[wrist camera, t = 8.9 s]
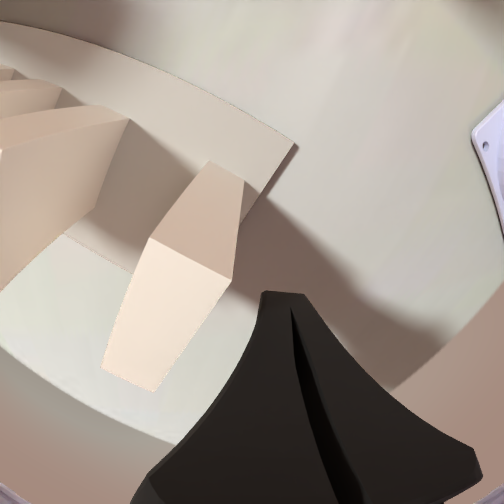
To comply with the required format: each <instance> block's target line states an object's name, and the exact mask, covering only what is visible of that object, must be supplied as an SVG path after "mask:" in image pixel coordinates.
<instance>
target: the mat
mask: <svg viewBox="0 0 504 504" xmlns="http://www.w3.org/2000/svg"><path fill="white" fill-rule="evenodd" d="M0 64H3V65H6V66H9V67H11V68H14V69H15V70H14V73H13V76H12V79H11V80H25V79H42V80H45V81H47V82H50V83H52V84H55V85H57V86H59V87H62V90H61V93H60V95H59V98H58V100H57V103H56V106H55V108H54V109H60V108H68V107H77V106H88V105H103V106H105V107H107V108H109V109H111V110H113V111H115V112H117V113H120V114H122V115H124V116H126V117H128V118H130V119H129V121H128V124H127V126H126V128H125V130H124V132H123V135H122V137H121V139H120V141H119V144H118V146H117V148H116V151H115V153H114V156H113V158H112V161H111V163H110V166H109V168H108V171H107V174H106V176H105V179H104V182H103V184H102V187H101V190H100V193H99V196H98V199H97V202H96V205H95V208H93V209H92V210H91V211H90V212H88V213H87V214H86V215H84V216H83V217H82V218H81V219H79V220H78V221H77V222H76V223H74V224H73V225H72V226H71V227H70V228H68V229H67V230H66V231H65V232H64V233H63V234H64V235H66V236H68V237H69V238H71V239H72V240H74V241H76V242H77V243H79V244H81V245H82V246H84V247H86V248H87V249H89V250H91V251H92V252H94V253H96V254H98V255H99V256H101V257H103V258H105V259H106V260H108V261H110V262H112V263H113V264H115V265H117V266H119V267H120V268H122V269H124V270H126V271H128V272H129V273H131V274H134V272H135V269H136V267H137V264H138V262H139V260H140V257H141V255H142V253H143V250H144V248H145V246H146V243H147V241H148V239H149V237H150V235H151V234H152V233H153V231H154V230H155V229H156V227H157V226H158V225H159V223H160V222H161V220H162V219H163V218H164V216H165V215H166V214H167V212H168V211H169V210H170V209H171V207H172V206H173V205H174V203H175V202H176V201H177V199H178V198H179V197H180V196H181V194H182V193H183V192H184V190H185V189H186V188H187V187H188V185H189V184H190V183H191V182H192V180H193V179H194V178H195V177H196V176H197V174H198V173H199V172H200V171H201V169H202V168H203V167H204V166H205V165H206V163H207V162H208V161H209V160H210V161H212V162H213V163H215V164H217V165H219V166H221V167H222V168H224V169H226V170H228V171H229V172H231V173H233V174H235V175H236V176H238V177H240V178H242V179H243V180H244V188H243V196H242V203H241V211H240V219H239V226H240V224H241V222H242V221H243V219H244V218H245V216H246V215H247V213H248V212H249V210H250V209H251V207H252V206H253V204H254V203H255V201H256V200H257V198H258V196H259V195H260V193H261V192H262V190H263V189H264V187H265V186H266V184H267V183H268V181H269V180H270V178H271V177H272V175H273V174H274V172H275V171H276V169H277V168H278V166H279V165H280V163H281V162H282V160H283V159H284V157H285V156H286V154H287V153H288V152H289V150H290V149H291V147H292V146H293V144H294V142H293V141H291V140H290V139H288V138H287V137H285V136H284V135H282V134H280V133H279V132H277V131H276V130H274V129H272V128H271V127H269V126H267V125H266V124H264V123H262V122H261V121H259V120H257V119H256V118H254V117H252V116H250V115H249V114H247V113H245V112H243V111H242V110H240V109H238V108H236V107H235V106H233V105H231V104H229V103H227V102H225V101H224V100H222V99H220V98H218V97H216V96H214V95H212V94H210V93H208V92H206V91H204V90H202V89H200V88H198V87H196V86H194V85H192V84H190V83H188V82H186V81H184V80H182V79H180V78H178V77H175V76H173V75H171V74H169V73H167V72H164V71H162V70H160V69H158V68H155V67H153V66H151V65H148V64H146V63H143V62H141V61H138V60H136V59H133V58H131V57H128V56H126V55H123V54H121V53H118V52H115V51H112V50H110V49H107V48H104V47H101V46H98V45H95V44H92V43H89V42H86V41H83V40H79V39H76V38H73V37H69V36H66V35H62V34H58V33H55V32H51V31H47V30H43V29H38V28H34V27H29V26H24V25H19V24H14V23H8V22H2V21H0Z"/></svg>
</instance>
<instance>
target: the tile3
mask: <svg viewBox="0 0 504 504" xmlns="http://www.w3.org/2000/svg"><path fill="white" fill-rule="evenodd" d="M61 90H62V87H59V86H57V85H55V84H52V83H50V82H47V81H45V80H42V79H25V80H8V81H0V119H3V118H7V117H12V116H17V115H22V114H27V113H33V112H39V111H45V110H52V109H54V108H55V106H56V103H57V100H58V98H59V95H60V93H61Z"/></svg>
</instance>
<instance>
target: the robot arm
mask: <svg viewBox="0 0 504 504" xmlns="http://www.w3.org/2000/svg"><path fill="white" fill-rule="evenodd" d="M471 137H472V142H473V144H474V146H475V149H476V151H477V153H478V156H479V158H480V161H481V163H482V166H483V168H484V171H485V174H486V177H487V179H488V182H489V185H490V188H491V191H492V194H493V197H494V200H495V204H496V207H497V210H498V214H499V218H500V221H501V225H502V229H503V233H504V99H503V100H502V101H501V103H500V104H499V105H498V106H497V107H496V108H494V109H493V110H492V111H491V112H490V113H489V114H488V115H487V116H486V117H485V118H484V119H483V120H482V121H481V122H480V123H479V124H478V125H477V126H476V127H475V128H474V129H473V131H472V134H471ZM483 143H484V148H483V147H482V146H483ZM482 477H483V474H482V471H481V468H480V465H479V462H478V460H477V457H476V454H475V451H474V449H473V448H472V447H469V446H467V445H466V444H463V443H462V442H460V441H458V440H456V439H454V438H452V437H450V436H448V435H446V434H444V433H443V432H441V431H439V430H438V429H436V428H435V427H433V426H431V425H430V424H428V423H427V422H425V421H424V420H422V419H421V418H419V417H418V416H416V415H415V414H414V413H412V412H411V411H410V410H408V409H407V408H406V407H405V406H403V405H402V404H401V403H400V402H398V401H397V400H396V399H395V398H393V397H392V396H391V395H390V394H389V393H388V392H386V391H385V390H384V389H383V388H382V387H381V386H380V385H379V384H378V383H377V382H376V381H375V380H374V379H373V378H372V377H371V376H370V375H368V374H367V373H366V372H365V370H364V369H363V368H362V367H361V366H360V365H359V364H358V363H357V362H356V361H355V360H354V358H353V357H352V356H351V355H350V354H349V353H348V352H347V351H346V349H345V348H344V347H343V346H342V344H341V343H340V342H339V341H338V339H337V338H336V337H335V336H334V334H333V333H332V332H331V330H330V329H329V328H328V326H327V325H326V324H325V322H324V321H323V320H322V318H321V317H320V315H319V314H318V313H317V311H316V310H315V308H314V307H313V306H312V304H311V303H310V301H309V300H308V299H307V297H306V296H305V295H304V294H297V293H286V292H276V291H264V292H262V293H261V298H260V304H259V309H258V315H257V320H256V325H255V328H254V330H253V333H252V336H251V338H250V340H249V342H248V344H247V346H246V348H245V351H244V353H243V355H242V357H241V359H240V361H239V362H238V364H237V366H236V368H235V369H234V371H233V373H232V375H231V376H230V378H229V379H228V381H227V383H226V384H225V386H224V387H223V389H222V390H221V392H220V393H219V394H218V396H217V397H216V399H215V400H214V402H213V403H212V404H211V406H210V407H209V408H208V410H207V411H206V412H205V413H204V415H203V416H202V417H201V418H200V419H199V421H198V422H197V423H196V424H195V425H194V427H193V428H192V429H191V430H190V431H189V432H188V433H187V435H186V436H185V437H184V438H183V439H182V440H181V441H180V442H179V443H178V444H177V446H176V447H174V448H173V449H172V451H170V452H169V454H168V455H166V456H165V457H164V458H163V459H162V460H161V461H160V462H159V463H158V464H157V465H156V466H155V467H154V468H152V469H151V470H150V471H149V472H148V473H147V475H146V477H145V479H144V480H143V481H142V483H141V485H140V486H139V488H138V489H137V491H136V493H135V494H134V496H133V498H132V500H131V502H130V504H444V502H445V501H447V500H448V499H451V498H453V497H454V496H456V495H458V494H460V493H462V492H463V491H465V490H467V489H468V488H470V487H472V486H474V485H475V484H477V483H478V482H479V481H481V479H482ZM0 504H32V503H30V502H28V501H26V500H25V499H23V498H21V497H20V496H18V495H17V494H16V493H15V492H14V491H13V490H11V489H10V488H8V487H7V486H5V485H3V484H2V483H1V482H0ZM473 504H504V483H503V484H502V485H500V486H499V487H497V488H496V489H494V490H493V491H491V492H490V494H488V495H487V496H485V497H483V498H482V499H480V500H479V501H477V502H475V503H473Z"/></svg>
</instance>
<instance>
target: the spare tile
mask: <svg viewBox="0 0 504 504" xmlns="http://www.w3.org/2000/svg"><path fill="white" fill-rule="evenodd" d="M243 188H244V180H243V179H242V178H240V177H238V176H236V175H235V174H233V173H231V172H229V171H228V170H226V169H224V168H222V167H221V166H219V165H217V164H215V163H213V162H212V161H210V160H209V161H208V162H207V163H206V165H205V166H204V167H203V168H202V169H201V171H200V172H199V173H198V174H197V176H196V177H195V178H194V179H193V180H192V182H191V183H190V184H189V185H188V187H187V188H186V189H185V190H184V192H183V193H182V194H181V196H180V197H179V198H178V199H177V201H176V202H175V203H174V205H173V206H172V207H171V209H170V210H169V211H168V212H167V214H166V215H165V216H164V218H163V219H162V220H161V222H160V223H159V225H158V226H157V227H156V229H155V230H154V231H153V233H152V234H151V235H150V237H149V239H148V241H147V243H146V246H145V248H144V250H143V253H142V255H141V257H140V260H139V262H138V264H137V267H136V269H135V272H134V274H133V276H132V279H131V281H130V284H129V286H128V289H127V292H126V294H125V297H124V299H123V302H122V305H121V307H120V310H119V313H118V315H117V318H116V321H115V324H114V327H113V330H112V332H111V335H110V338H109V341H108V344H107V347H106V350H105V354H104V357H103V360H102V363H101V366H100V368H102V369H104V370H106V371H108V372H110V373H112V374H114V375H116V376H118V377H120V378H122V379H124V380H126V381H128V382H131V383H133V384H135V385H137V386H139V387H142V388H144V389H146V390H148V391H151V392H153V393H154V392H155V390H156V389H157V387H158V386H159V385H160V383H161V382H162V380H163V379H164V377H165V376H166V374H167V373H168V372H169V370H170V369H171V367H172V366H173V364H174V363H175V362H176V360H177V359H178V357H179V356H180V354H181V353H182V352H183V350H184V349H185V347H186V346H187V344H188V343H189V342H190V340H191V339H192V337H193V336H194V334H195V333H196V331H197V330H198V329H199V327H200V326H201V324H202V323H203V321H204V320H205V319H206V317H207V316H208V314H209V313H210V311H211V310H212V309H213V307H214V306H215V304H216V303H217V301H218V300H219V298H220V297H221V296H222V294H223V293H224V291H225V290H226V288H227V287H228V286H229V284H230V283H231V281H232V276H233V268H234V260H235V251H236V243H237V235H238V227H239V219H240V211H241V203H242V196H243Z"/></svg>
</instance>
